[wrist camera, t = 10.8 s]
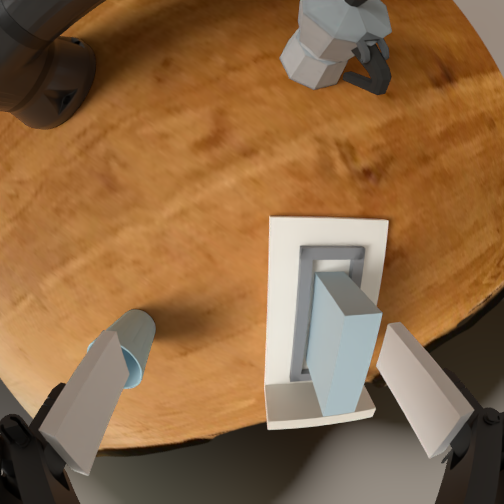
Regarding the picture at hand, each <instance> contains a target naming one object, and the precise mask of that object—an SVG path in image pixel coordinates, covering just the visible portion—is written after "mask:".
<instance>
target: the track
mask: <svg viewBox="0 0 504 504" xmlns="http://www.w3.org/2000/svg"><path fill="white" fill-rule="evenodd" d="M388 222H389V221H388V220H385V219H370V218H345V217H311V216H269V262H268V299H267V329H266V356H265V380H264V393H265V404H266V415H267V426H268V430H272V429H290V428H302V427H311V426H320V425H328V424H334V423H341V422H347V421H353V420H359V419H364V418H368V417H372V416H373V414H374V411H375V409H376V408H375V406H374V404H373V402H372V400H371V398H370V396H369V394H368V392H367V390H366V388H365V386H364V385H363V388H362V391H361V394H360V397H359V400H358V403H357V406H356V409H355V411H354V412H352V413H346V414H339V415H332V416H325V417H323V415H322V412H321V408H320V405H319V402H318V398H317V395H316V392H315V388H314V385H313V382H312V379H311V375H310V372H309V369H308V366H307V362H306V352H307V344H308V336H309V328H310V319H311V309H312V299H313V289H314V277H315V272H342V271H344V272H345V273H346V274H347V275H348V276H349V277H350V279H351V280H352V281H353V282H354V283H355V284H356V285H357V286H358V287H359V288H360V289H361V290H362V291H363V292H364V293H365V294H366V295H367V297H368V298H369V299H370V300H371V301H372V302H373V303H374V304H375V305H376V306H377V301H378V296H379V290H380V285H381V278H382V272H383V265H384V258H385V250H386V242H387V232H388Z"/></svg>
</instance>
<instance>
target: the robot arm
mask: <svg viewBox="0 0 504 504" xmlns="http://www.w3.org/2000/svg"><path fill="white" fill-rule="evenodd" d="M104 1H106V0H0V111H5V112H10V113H11V114H13V115H14V116H15V117H16V118H18V119H19V120H20V121H22V122H23V123H24V124H25V125H27V126H29V127H31V128H35V129H43V130H45V129H51V128H54V127H56V126H58V125H60V124H62V123H63V122H65V121H66V120H67V119H68V118H69V117H71V116H72V115H73V113H74V112H75V111H76V110H77V109H78V108H79V106H80V105H81V104H82V102H83V101H84V99H85V97H86V96H87V94H88V92H89V90H90V87H91V85H92V82H93V79H94V75H95V69H96V59H95V55H94V52H93V50H92V48H91V47H90V46H89V45H87V44H86V43H85V42H83V41H82V40H80V39H78V38H74V37H65V36H60V35H61V34H62V33H63V32H64V31H66V30H67V29H68V28H69V27H70V26H72V25H73V24H74V23H75V22H77V21H78V20H79V19H81V18H82V17H83V16H85V15H86V14H87V13H89V12H90V11H91V10H93V9H94V8H96V7H97V6H99V5H100V4H101V3H103V2H104ZM376 367H377V368H378V370H379V371H380V373H381V375H382V376H383V378H384V380H385V381H386V383H387V385H388V386H389V388H390V390H391V391H392V393H393V395H394V396H395V398H396V400H397V401H398V403H399V405H400V407H401V408H402V410H403V412H404V414H405V415H406V417H407V419H408V421H409V422H410V424H411V426H412V428H413V430H414V431H415V433H416V435H417V437H418V438H419V440H420V442H421V444H422V446H423V448H424V449H425V451H426V453H427V455H428V457H429V458H432V457H434V456H436V455H438V454H440V453H442V452H444V450H445V449H446V448H447V447H448V446H449V444H450V445H451V447H452V449H451V451H450V452H449V453H448V454H447V455H446V456H445V458H444V459H443V460H442V462H441V463H444V462H445V461H446V460H447V459H448V461H447V463H446V464H447V465H446V469H445V473H444V476H443V480H442V483H441V486H440V490H439V493H438V496H437V499H436V502H435V504H504V412H502V413H499V412H498V411H497V410H495V409H493V408H484V409H483V408H482V406H481V405H480V404H479V403H478V401H477V400H476V399H475V398H474V396H473V395H472V394H471V393H470V391H469V390H468V389H467V388H465V385H464V384H463V383H462V382H460V380H459V378H458V377H457V376H456V375H455V374H454V373H453V372H451V371H450V370H448V369H447V368H444V369H441V368H440V367H439V365H438V364H437V363H436V362H435V361H434V359H433V358H432V357H431V356H430V355H429V354H428V352H427V351H426V350H425V349H424V348H423V347H422V345H421V344H420V343H419V342H418V341H417V340H416V339H415V338H414V336H413V335H412V334H411V333H410V332H409V331H408V330H407V329H406V328H405V326H404V325H403V324H402V323H401V322H396V323H389V324H388V326H387V330H386V334H385V337H384V341H383V345H382V348H381V352H380V355H379V358H378V362H377V365H376ZM128 377H129V371H128V368H127V365H126V362H125V359H124V356H123V352H122V349H121V346H120V342H119V339H118V335H117V332H116V331H106V330H103V331H102V333H101V334H100V335H99V337H98V338H97V340H96V341H95V342H94V344H93V345H92V347H91V348H90V349H89V351H88V352H87V354H86V355H85V357H84V358H83V360H82V361H81V363H80V364H79V366H78V367H77V369H76V370H75V372H74V373H73V375H72V376H71V378H70V379H69V381H68V382H67V384H65V383H60V384H59V385H57V386H56V387H55V388H53V389H52V391H51V392H50V394H49V395H48V398H47V399H46V400H45V402H44V403H43V405H42V406H41V408H40V409H39V411H38V413H37V414H36V416H35V418H34V419H33V421H32V422H31V424H30V426H29V427H28V425H27V424H26V423H25V421H24V420H23V419H22V418H21V417H20V416H19V415H16V414H9V415H7V416H5V417H4V418H2V419H1V421H0V433H1V434H0V504H80V502H79V500H78V498H77V496H76V494H75V492H74V489H73V487H72V484H71V482H70V479H69V477H68V475H67V472H66V471H65V469H64V467H65V464H67V465H68V466H69V467H70V468H71V469H72V470H73V471H76V472H79V473H82V474H84V475H89V472H90V470H91V467H92V464H93V461H94V459H95V456H96V453H97V451H98V448H99V446H100V443H101V441H102V438H103V435H104V433H105V430H106V428H107V425H108V423H109V421H110V418H111V416H112V413H113V411H114V409H115V406H116V404H117V402H118V399H119V397H120V395H121V392H122V390H123V388H124V386H125V383H126V381H127V379H128ZM1 469H2V470H3V474H2V475H1Z"/></svg>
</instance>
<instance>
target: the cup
mask: <svg viewBox="0 0 504 504" xmlns="http://www.w3.org/2000/svg"><path fill="white" fill-rule="evenodd" d="M106 331H116V332H117V335H118V339H119V342H120V346H121V349H122V352H123V356H124V359H125V362H126V365H127V368H128V371H129V377H128V379H127V381H126V383H125V386H124V388H123V389H129V388H133V387H136V386H137V385H138V384H139V383H140V382H141V380H142V377H143V374H144V370H145V366H146V362H147V359H148V356H149V352H150V349H151V345H152V342H153V339H154V335H155V332H156V327H155V323H154V321H153V319H152V318H151V317H150V316H149V315H148V314H147V313H146V312H144V311H141V310H138V309H133V310H129V311H128V312H126V313H125V314H124V315H122V316H121V317H120V318H119V319H118V320H117V321H116V322H114V323H113V324H112V325H111V326H110V327H109V328H108V329H107V330H106ZM97 338H98V337H97ZM97 338H96V339H95V340H94V341H93V342H92V343H91V344H90V345H89V347H88V349H87V352H88V351H89V349H90V348H91V347H92V345H93V344H94V342H95V341H96V340H97Z"/></svg>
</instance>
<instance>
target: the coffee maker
mask: <svg viewBox="0 0 504 504" xmlns="http://www.w3.org/2000/svg"><path fill="white" fill-rule="evenodd" d="M298 24H299V28H298V30H297V31H296V32H295V33H294V35H293V36H292V37H291V38H290V39H289V41H288V43H287V45H286V47H285V48H284V50H283V52H282V54H281V56H280V60H281V62H282V64H283V66H284V68H285V70H286V72H287V74H288V76H289V78H290V79H291V80H293V81H296V82H298V83H300V84H302V85H304V86H307V87H309V88H311V89H313V90H315V89H319V88H323V87H327V86H331V85H335V84H337V82H338V80H339V78H340V76H341V74H342V72H343V70H344V68H345V66H346V64H347V62H348V60H349V59H350V58H352V57H353V56H356V57H357V59H358V60H359V61H360V62H361V64H362V65H363V66H364V67H365V69H366V70H367V71H368V73H369V75H370V77H371V79H370V78H367V77H365V76H362V75H359V74H357V73H354V72H346V73H344V75H343V80H344V81H346V82H349V83H351V84H354V85H356V86H358V87H360V88H363V89H365V90H367V91H369V92H371V93H373V94H376V95H381V94H385V93H386V90H387V88H388V85H389V82H390V80H391V73H390V69H389V67H388V65H387V63H386V61H385V60H387V59H388V58H389V48H388V46H387V44H386V43H385V41H384V39H383V38H384V37H385V36H387V35H388V34H390V33H391V32H392V30H391V26H390V21H389V16H388V12H387V8H386V6H385V5H384V4H383V3H382V2H381V1H380V0H300V5H299V16H298ZM375 43H378V45H379V47H380V49H381V52H382V53H381V52H380V51H379V49H378V47H377V46H376V44H375Z"/></svg>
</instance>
